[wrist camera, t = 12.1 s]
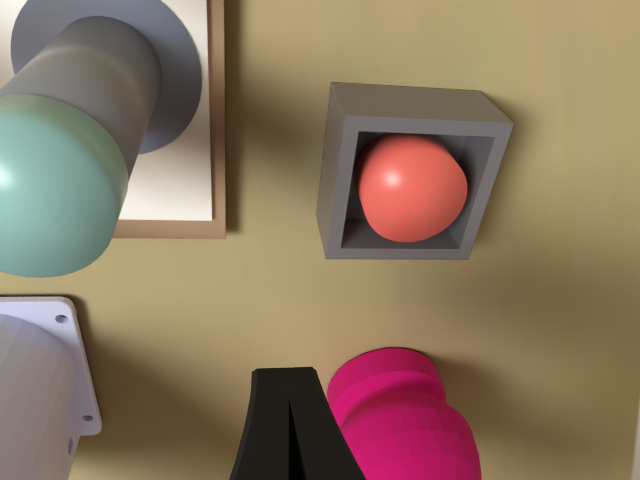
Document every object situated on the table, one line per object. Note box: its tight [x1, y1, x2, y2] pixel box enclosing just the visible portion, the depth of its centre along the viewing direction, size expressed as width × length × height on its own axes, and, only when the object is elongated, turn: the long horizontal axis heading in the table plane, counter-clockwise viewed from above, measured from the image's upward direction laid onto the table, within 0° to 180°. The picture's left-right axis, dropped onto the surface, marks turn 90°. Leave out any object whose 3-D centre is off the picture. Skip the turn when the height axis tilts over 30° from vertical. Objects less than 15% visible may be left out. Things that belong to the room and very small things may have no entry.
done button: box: [354, 132, 467, 242], centre depth 18 cm, size 4×4×2 cm
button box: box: [316, 82, 514, 260], centre depth 19 cm, size 6×6×3 cm
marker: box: [0, 16, 162, 278], centre depth 13 cm, size 3×3×8 cm
